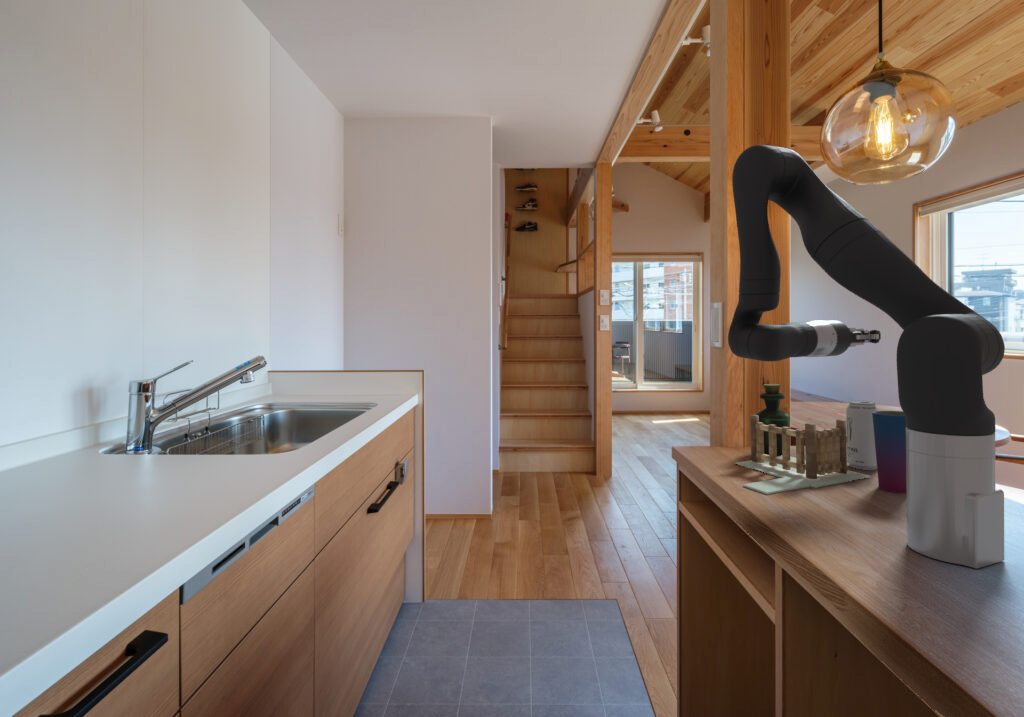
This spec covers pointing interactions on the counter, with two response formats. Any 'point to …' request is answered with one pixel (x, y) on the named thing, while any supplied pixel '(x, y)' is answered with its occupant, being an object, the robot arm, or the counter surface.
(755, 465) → the board
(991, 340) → the robot arm
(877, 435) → the cup
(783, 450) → the swing panel
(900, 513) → the counter surface
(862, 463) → the energy drink can
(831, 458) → the fixed fence panel
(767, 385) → the potion bottle
